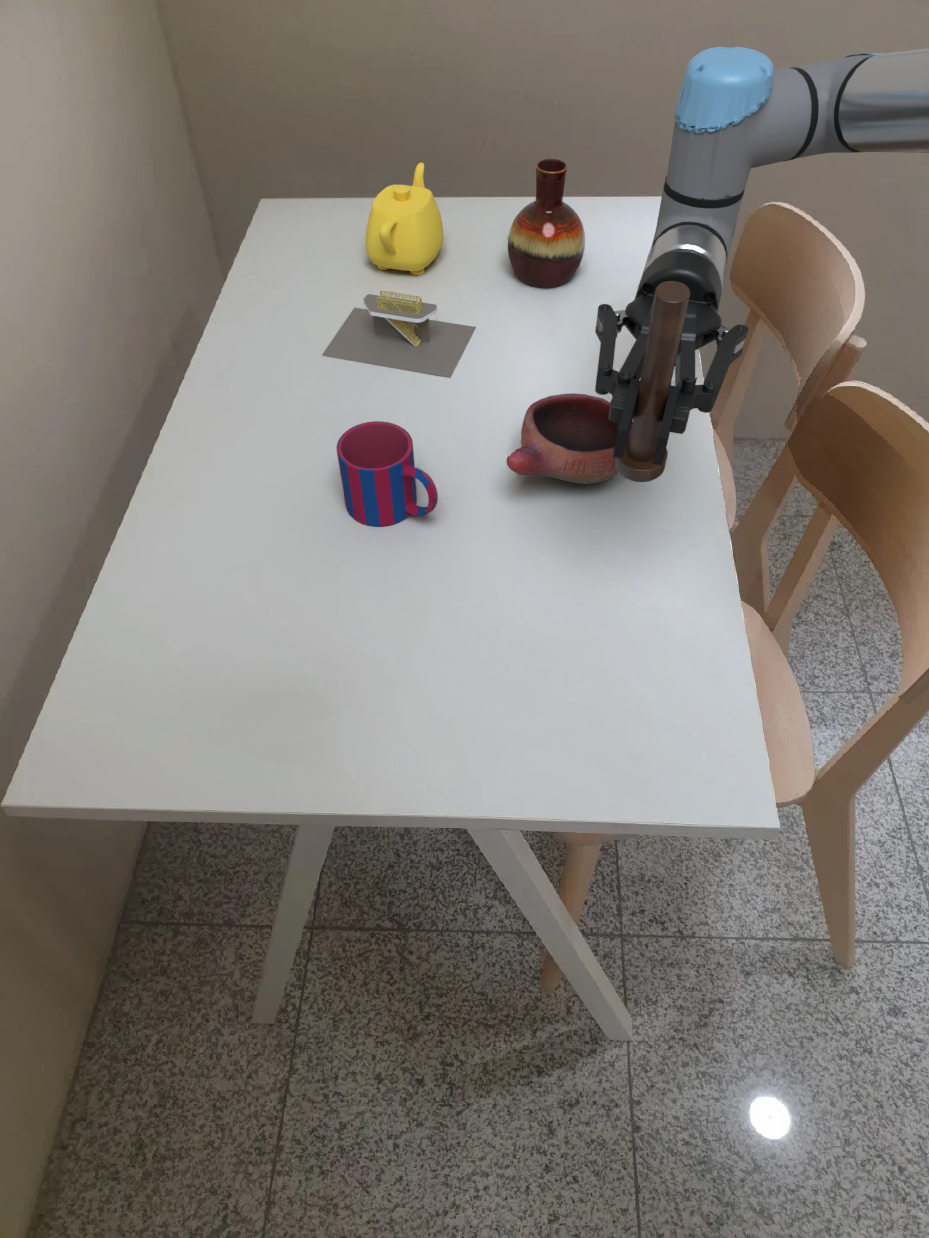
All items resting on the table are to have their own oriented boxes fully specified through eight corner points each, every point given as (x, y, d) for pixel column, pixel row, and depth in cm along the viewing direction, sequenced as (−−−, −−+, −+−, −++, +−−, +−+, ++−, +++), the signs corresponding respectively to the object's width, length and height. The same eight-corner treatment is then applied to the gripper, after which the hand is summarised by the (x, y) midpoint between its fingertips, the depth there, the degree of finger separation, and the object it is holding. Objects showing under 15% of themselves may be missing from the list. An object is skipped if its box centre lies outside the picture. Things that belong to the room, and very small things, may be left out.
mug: (383, 467, 98) (377, 411, 92) (456, 518, 93) (455, 461, 86) (331, 502, 95) (320, 446, 88) (403, 556, 89) (398, 501, 83)
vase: (503, 256, 127) (506, 148, 115) (576, 253, 128) (586, 146, 116) (510, 296, 121) (514, 186, 108) (586, 293, 121) (599, 183, 109)
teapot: (393, 225, 134) (387, 154, 125) (459, 234, 132) (458, 162, 123) (352, 283, 123) (343, 210, 115) (423, 294, 121) (420, 220, 113)
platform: (450, 377, 109) (448, 332, 104) (321, 355, 112) (314, 310, 107) (475, 327, 116) (475, 282, 111) (354, 307, 119) (348, 263, 114)
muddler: (669, 450, 74) (709, 276, 59) (660, 487, 72) (699, 316, 57) (619, 441, 75) (647, 267, 60) (609, 477, 73) (635, 306, 58)
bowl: (535, 422, 103) (539, 367, 97) (639, 443, 100) (650, 387, 94) (498, 510, 94) (500, 455, 87) (611, 535, 91) (621, 480, 85)
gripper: (754, 336, 79) (731, 502, 66) (593, 311, 82) (538, 466, 68) (777, 260, 74) (756, 426, 60) (603, 237, 76) (544, 390, 62)
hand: (640, 447), depth 64 cm, fingers closed on muddler, 2 cm apart
